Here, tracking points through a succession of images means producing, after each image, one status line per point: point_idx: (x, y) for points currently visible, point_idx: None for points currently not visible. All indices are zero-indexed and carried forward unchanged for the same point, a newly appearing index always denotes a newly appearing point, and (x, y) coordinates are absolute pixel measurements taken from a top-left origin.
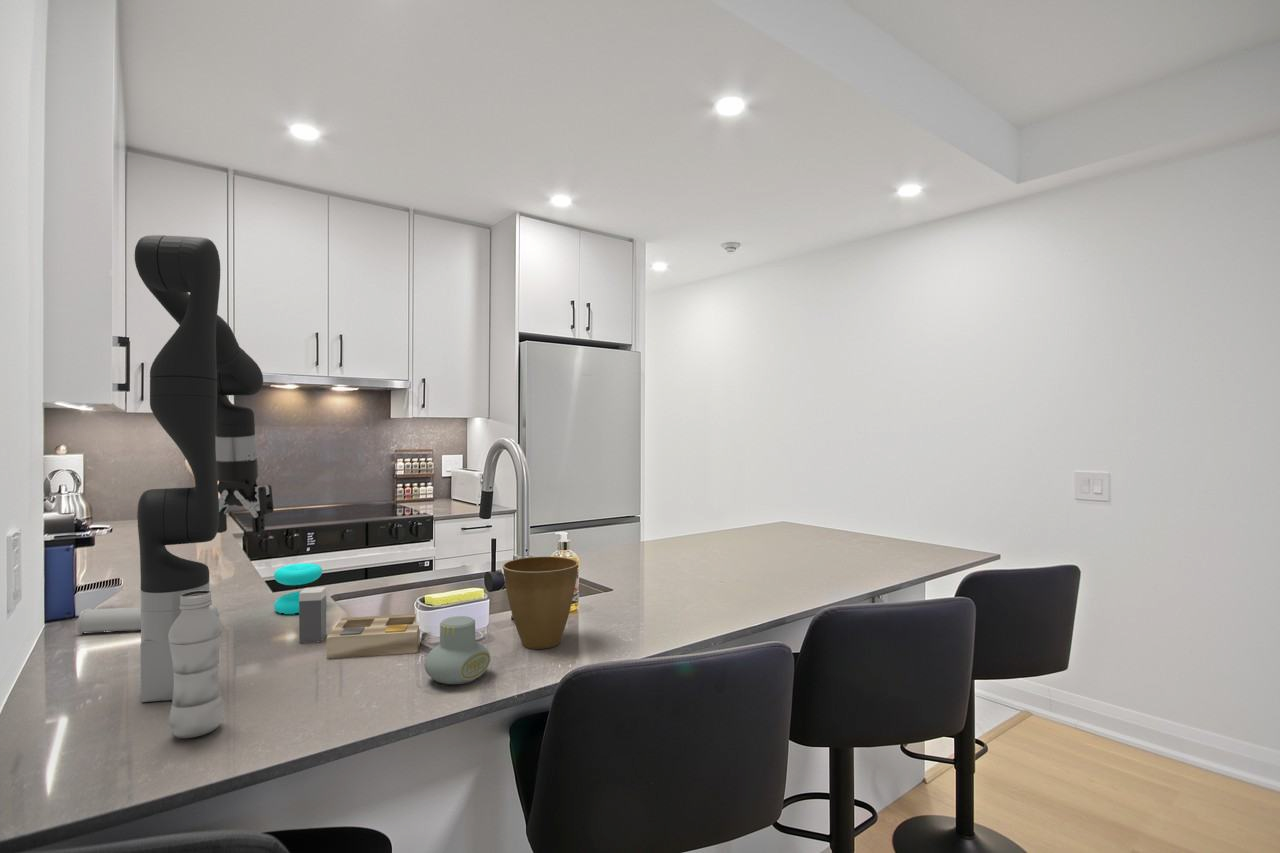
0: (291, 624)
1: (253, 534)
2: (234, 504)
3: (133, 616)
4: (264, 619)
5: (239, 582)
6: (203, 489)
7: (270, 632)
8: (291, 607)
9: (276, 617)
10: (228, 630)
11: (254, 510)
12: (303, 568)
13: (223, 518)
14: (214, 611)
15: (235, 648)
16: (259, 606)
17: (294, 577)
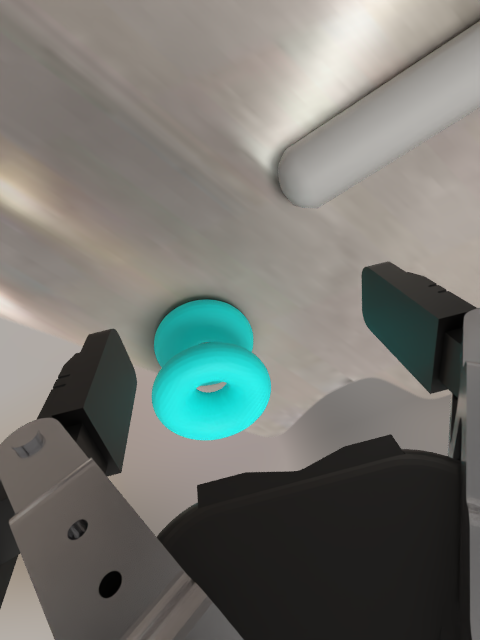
0: (112, 260)
1: (112, 329)
2: (309, 472)
3: (470, 44)
4: (209, 261)
5: None
6: None
7: (95, 195)
8: (176, 312)
9: (196, 281)
10: (213, 165)
11: (14, 484)
12: (220, 414)
13: (413, 349)
14: (288, 185)
15: (33, 41)
16: (301, 316)
17: (171, 362)
